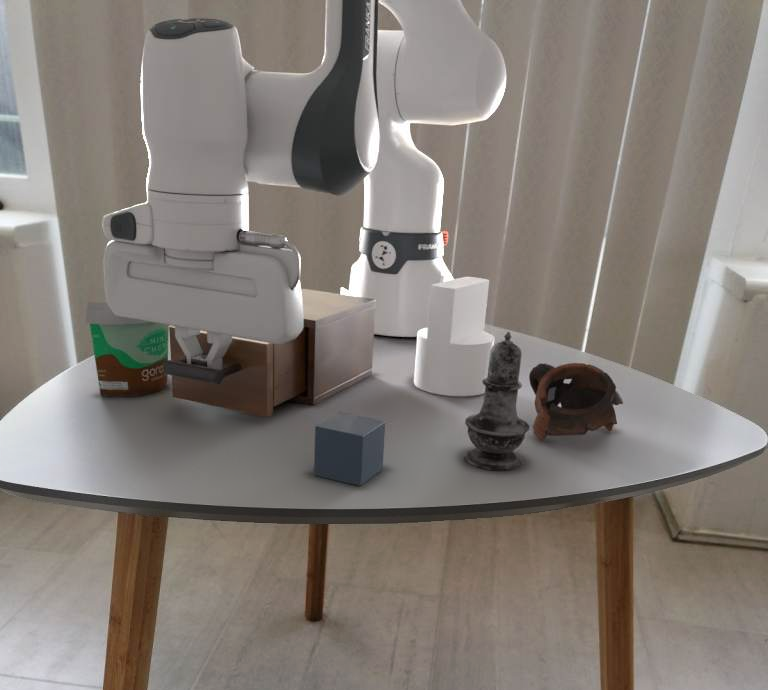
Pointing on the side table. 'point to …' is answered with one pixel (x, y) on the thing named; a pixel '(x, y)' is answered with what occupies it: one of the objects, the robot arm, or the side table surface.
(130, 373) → the food container
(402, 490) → the side table surface
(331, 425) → the block
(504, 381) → the salt shaker
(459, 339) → the cylinder with rectangular tab
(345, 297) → the cabinet
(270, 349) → the drawer
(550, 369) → the pottery mug
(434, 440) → the side table surface
